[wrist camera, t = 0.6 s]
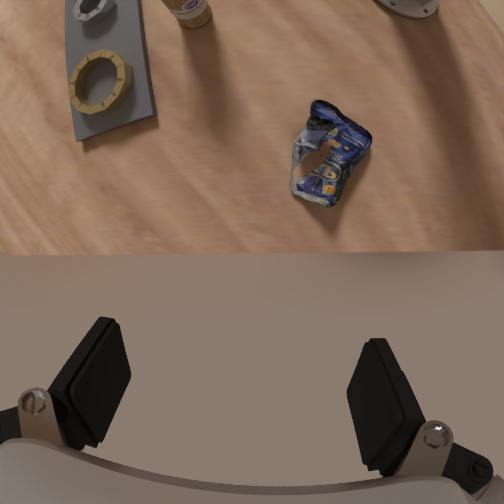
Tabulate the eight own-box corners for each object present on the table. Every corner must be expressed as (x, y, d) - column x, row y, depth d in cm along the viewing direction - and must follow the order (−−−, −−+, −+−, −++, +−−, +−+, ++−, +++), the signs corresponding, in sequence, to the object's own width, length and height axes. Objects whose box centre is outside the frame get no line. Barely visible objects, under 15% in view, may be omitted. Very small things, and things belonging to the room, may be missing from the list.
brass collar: (93, 50, 28) (84, 46, 26) (143, 60, 29) (135, 56, 27) (71, 106, 31) (60, 105, 29) (117, 121, 32) (108, 120, 30)
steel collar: (93, -8, 24) (85, -13, 21) (122, -6, 25) (114, -13, 22) (76, 23, 26) (67, 19, 23) (104, 26, 26) (95, 21, 24)
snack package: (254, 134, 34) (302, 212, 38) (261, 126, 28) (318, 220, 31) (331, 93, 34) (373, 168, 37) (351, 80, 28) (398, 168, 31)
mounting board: (70, -1, 25) (65, -4, 23) (138, -33, 24) (134, -37, 22) (82, 141, 34) (76, 141, 33) (156, 114, 33) (152, 114, 32)
